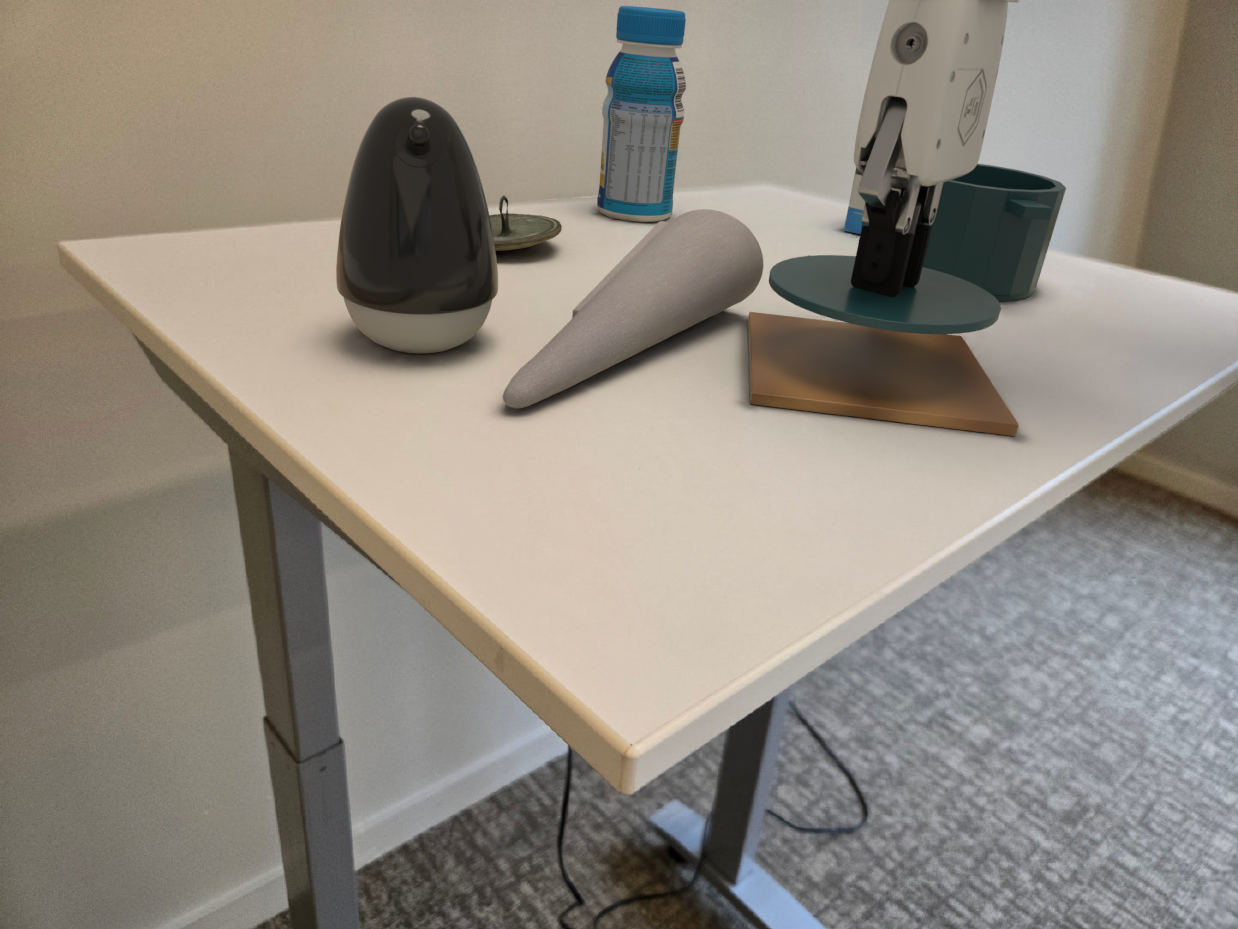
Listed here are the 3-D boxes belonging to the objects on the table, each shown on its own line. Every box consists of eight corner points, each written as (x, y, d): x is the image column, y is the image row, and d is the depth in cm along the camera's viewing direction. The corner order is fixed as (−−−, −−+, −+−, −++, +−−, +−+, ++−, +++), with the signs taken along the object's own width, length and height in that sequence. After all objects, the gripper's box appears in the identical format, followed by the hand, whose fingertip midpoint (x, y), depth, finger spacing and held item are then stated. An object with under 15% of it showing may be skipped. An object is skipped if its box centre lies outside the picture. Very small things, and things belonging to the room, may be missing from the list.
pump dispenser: (337, 371, 56) (320, 104, 49) (342, 314, 65) (328, 81, 57) (506, 369, 58) (512, 115, 51) (488, 314, 67) (492, 91, 60)
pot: (974, 253, 96) (999, 159, 92) (1080, 313, 80) (1117, 202, 75) (852, 248, 94) (871, 151, 90) (935, 308, 78) (963, 194, 73)
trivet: (959, 345, 70) (962, 335, 69) (1015, 436, 55) (1019, 424, 55) (747, 321, 71) (749, 311, 70) (750, 404, 56) (752, 392, 56)
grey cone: (638, 372, 48) (770, 220, 67) (491, 335, 50) (660, 199, 70) (629, 493, 52) (756, 317, 72) (494, 453, 54) (652, 293, 74)
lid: (574, 275, 83) (588, 219, 81) (477, 256, 76) (491, 195, 75) (517, 249, 90) (529, 198, 89) (424, 230, 84) (436, 175, 83)
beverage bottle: (621, 225, 94) (639, 8, 85) (581, 206, 101) (593, 2, 91) (688, 221, 99) (712, 14, 89) (645, 203, 105) (664, 8, 95)
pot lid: (933, 275, 68) (956, 183, 65) (1041, 347, 56) (1076, 237, 52) (741, 267, 66) (756, 170, 63) (808, 340, 53) (831, 224, 50)
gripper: (978, -38, 44) (892, 329, 52) (1059, -19, 56) (978, 277, 64) (833, -48, 48) (775, 296, 56) (939, -28, 59) (877, 253, 68)
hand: (884, 284), depth 60 cm, fingers closed on pot lid, 2 cm apart
